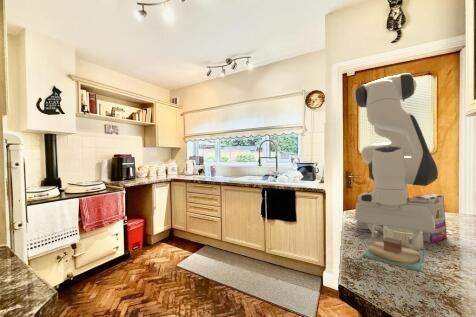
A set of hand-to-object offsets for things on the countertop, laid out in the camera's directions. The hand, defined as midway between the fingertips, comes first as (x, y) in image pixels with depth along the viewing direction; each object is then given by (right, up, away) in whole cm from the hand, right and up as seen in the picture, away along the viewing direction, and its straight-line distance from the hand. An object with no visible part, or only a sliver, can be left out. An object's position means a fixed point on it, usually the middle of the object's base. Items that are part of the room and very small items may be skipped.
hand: (392, 240), depth 65 cm
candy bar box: (+23, -4, +12) cm, 26 cm away
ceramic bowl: (+10, -5, +8) cm, 14 cm away
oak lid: (0, -4, 0) cm, 4 cm away
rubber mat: (0, -5, 0) cm, 5 cm away
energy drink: (+6, -5, +24) cm, 25 cm away
